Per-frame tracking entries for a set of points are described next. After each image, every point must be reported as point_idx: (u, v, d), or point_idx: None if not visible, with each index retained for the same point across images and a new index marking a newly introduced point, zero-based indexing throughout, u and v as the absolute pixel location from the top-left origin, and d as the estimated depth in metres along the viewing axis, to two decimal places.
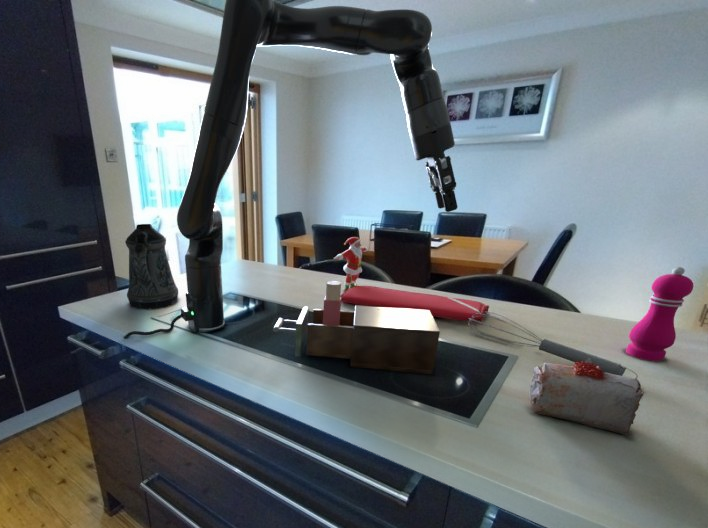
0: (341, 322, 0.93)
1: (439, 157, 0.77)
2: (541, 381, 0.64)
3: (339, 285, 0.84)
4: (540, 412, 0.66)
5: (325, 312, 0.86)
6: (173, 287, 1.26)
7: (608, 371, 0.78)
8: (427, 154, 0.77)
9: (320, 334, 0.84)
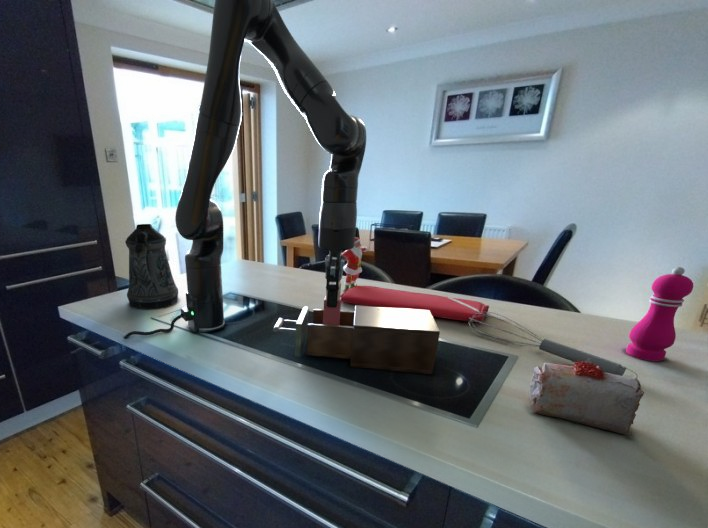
0: (341, 322, 0.93)
1: (334, 255, 0.79)
2: (541, 381, 0.64)
3: (339, 285, 0.84)
4: (540, 412, 0.66)
5: (325, 312, 0.86)
6: (173, 287, 1.26)
7: (608, 371, 0.78)
8: (325, 247, 0.79)
9: (320, 334, 0.84)
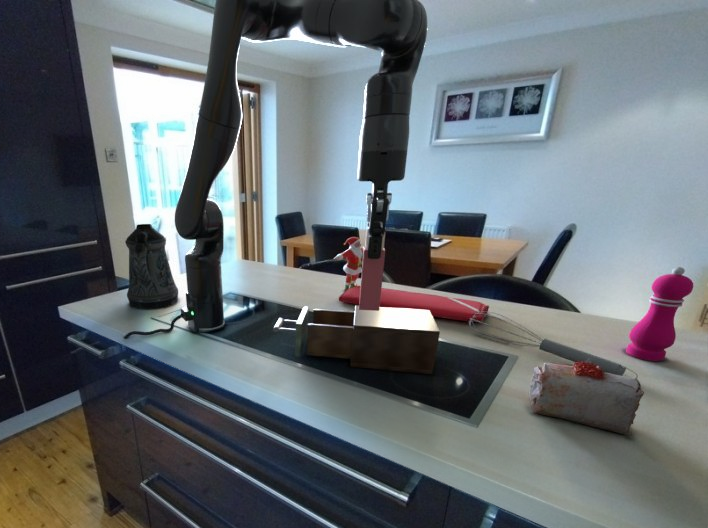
0: (341, 322, 0.93)
1: (380, 186, 0.62)
2: (541, 381, 0.64)
3: None
4: (540, 412, 0.66)
5: (365, 266, 0.69)
6: (173, 287, 1.26)
7: (608, 371, 0.78)
8: (369, 177, 0.62)
9: (320, 334, 0.84)
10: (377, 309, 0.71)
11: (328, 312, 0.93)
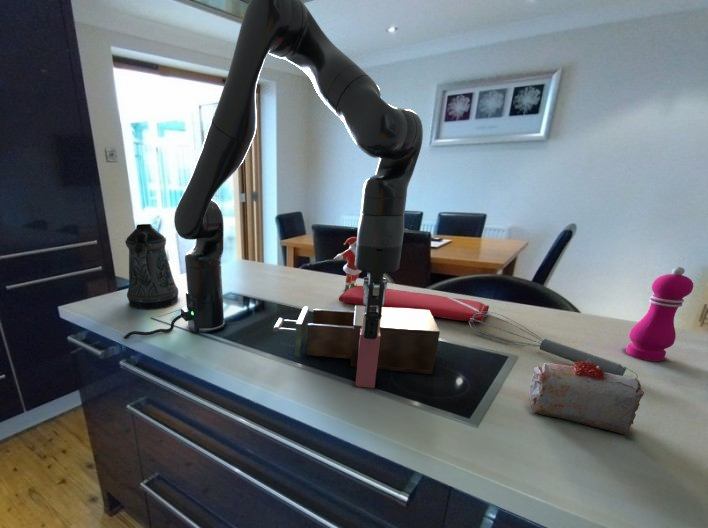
0: (341, 322, 0.93)
1: (376, 278, 0.65)
2: (541, 381, 0.64)
3: None
4: (540, 412, 0.66)
5: (362, 348, 0.73)
6: (173, 287, 1.26)
7: (608, 371, 0.78)
8: (365, 269, 0.66)
9: (320, 334, 0.84)
10: (372, 386, 0.75)
11: (328, 312, 0.93)
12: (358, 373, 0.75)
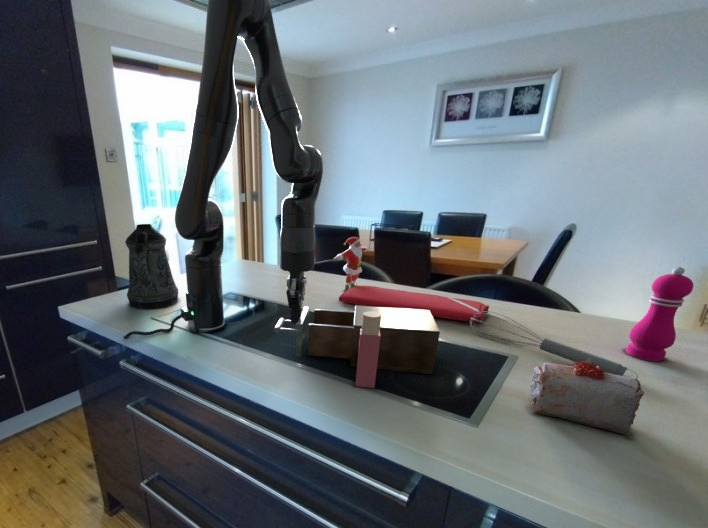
0: (342, 322, 0.93)
1: (294, 276, 0.83)
2: (541, 381, 0.64)
3: (379, 317, 0.71)
4: (540, 412, 0.66)
5: (362, 348, 0.73)
6: (173, 287, 1.26)
7: (608, 371, 0.78)
8: (286, 269, 0.83)
9: (321, 334, 0.84)
10: (372, 386, 0.75)
11: (329, 312, 0.93)
12: (358, 373, 0.75)
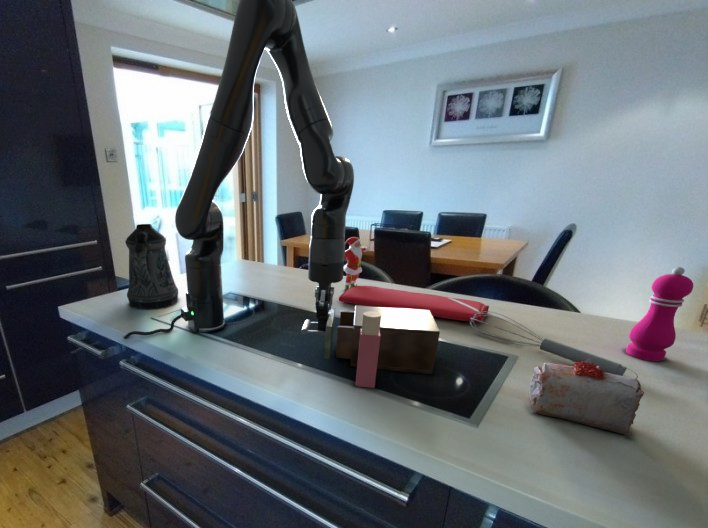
0: None
1: (323, 288, 0.82)
2: (541, 381, 0.64)
3: (379, 317, 0.71)
4: (540, 412, 0.66)
5: (362, 348, 0.73)
6: (173, 287, 1.26)
7: (608, 371, 0.78)
8: (315, 280, 0.82)
9: (350, 336, 0.83)
10: (372, 386, 0.75)
11: None
12: (358, 373, 0.75)
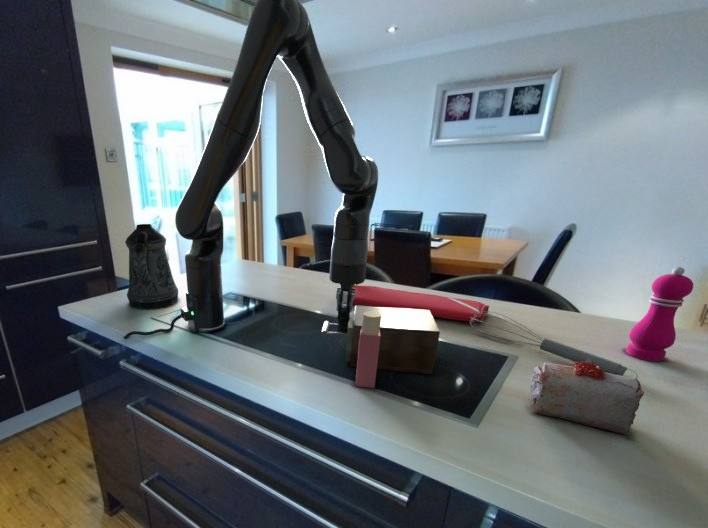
0: None
1: (345, 289, 0.81)
2: (541, 381, 0.64)
3: (379, 317, 0.71)
4: (540, 412, 0.66)
5: (362, 348, 0.73)
6: (173, 287, 1.26)
7: (608, 371, 0.78)
8: (337, 282, 0.81)
9: None
10: (372, 386, 0.75)
11: None
12: (358, 373, 0.75)
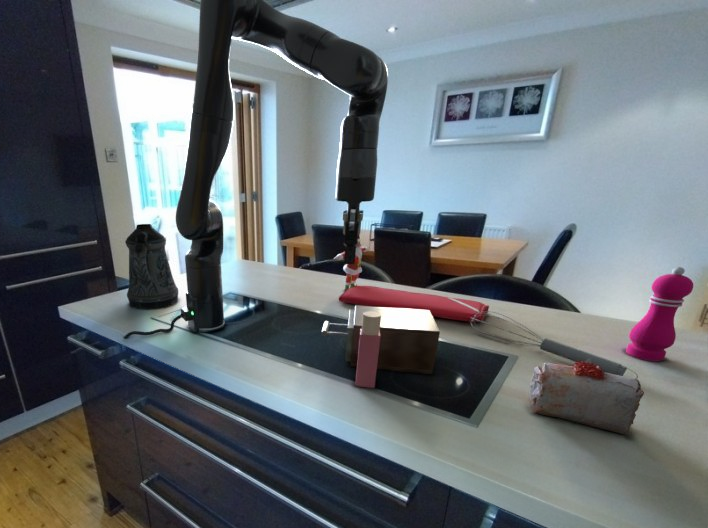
0: None
1: (353, 206, 0.75)
2: (541, 381, 0.64)
3: (379, 317, 0.71)
4: (540, 412, 0.66)
5: (362, 348, 0.73)
6: (173, 287, 1.26)
7: (608, 371, 0.78)
8: (344, 199, 0.75)
9: None
10: (372, 386, 0.75)
11: None
12: (358, 373, 0.75)
